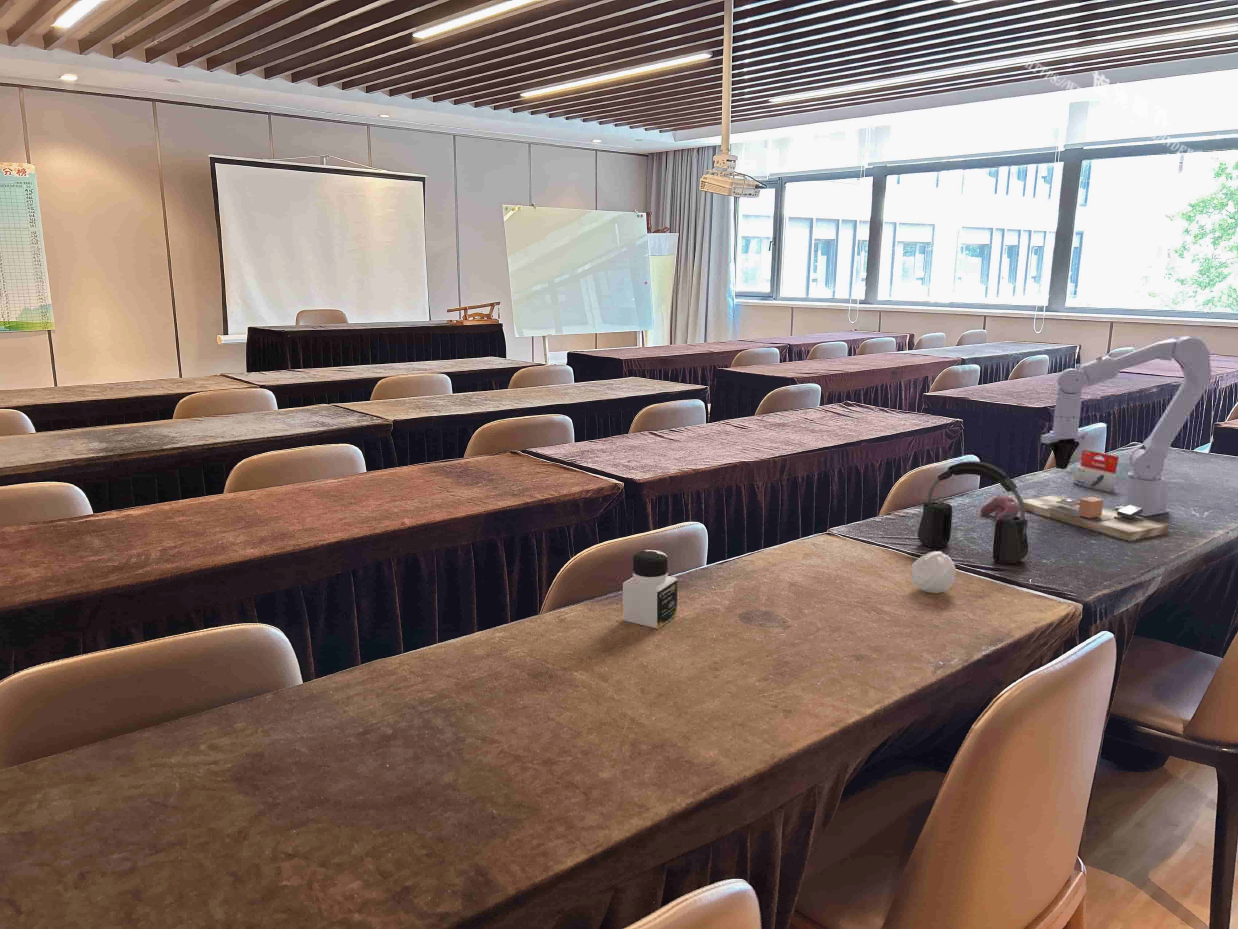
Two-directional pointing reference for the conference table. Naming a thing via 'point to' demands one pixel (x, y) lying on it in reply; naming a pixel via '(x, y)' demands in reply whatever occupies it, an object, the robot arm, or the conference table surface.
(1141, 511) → the rocker switch
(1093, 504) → the slide paddle
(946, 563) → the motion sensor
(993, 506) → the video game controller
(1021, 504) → the headphones
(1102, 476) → the ink cartridge box
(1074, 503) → the push button
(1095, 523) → the control panel
